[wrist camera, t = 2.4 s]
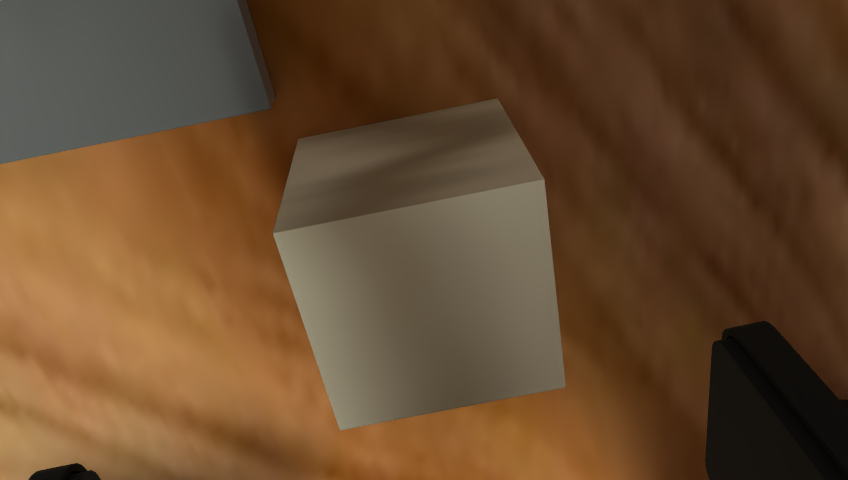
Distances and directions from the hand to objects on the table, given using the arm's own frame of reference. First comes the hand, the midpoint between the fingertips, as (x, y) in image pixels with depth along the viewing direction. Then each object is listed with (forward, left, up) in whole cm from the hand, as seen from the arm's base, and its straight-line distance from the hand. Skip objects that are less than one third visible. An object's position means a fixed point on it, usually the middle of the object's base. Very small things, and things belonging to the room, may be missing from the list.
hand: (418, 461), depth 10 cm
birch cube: (0, +1, -10) cm, 10 cm away
